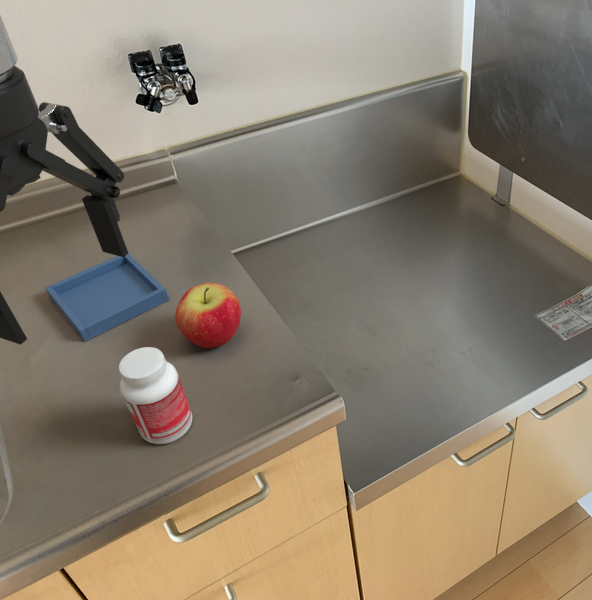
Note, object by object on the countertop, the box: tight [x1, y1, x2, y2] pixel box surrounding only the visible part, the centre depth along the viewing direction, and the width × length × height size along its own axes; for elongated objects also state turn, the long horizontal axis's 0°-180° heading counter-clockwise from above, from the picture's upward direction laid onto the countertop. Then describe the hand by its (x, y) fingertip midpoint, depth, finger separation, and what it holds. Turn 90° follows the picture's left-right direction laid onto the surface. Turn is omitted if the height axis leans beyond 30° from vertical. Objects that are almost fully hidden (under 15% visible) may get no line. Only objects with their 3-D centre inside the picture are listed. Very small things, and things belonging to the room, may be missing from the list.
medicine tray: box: [44, 252, 170, 342], centre depth 90 cm, size 13×13×2 cm
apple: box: [174, 282, 242, 349], centre depth 81 cm, size 8×8×10 cm
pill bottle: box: [118, 346, 193, 445], centre depth 70 cm, size 6×6×11 cm
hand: (68, 292), depth 60 cm, fingers open, 13 cm apart
